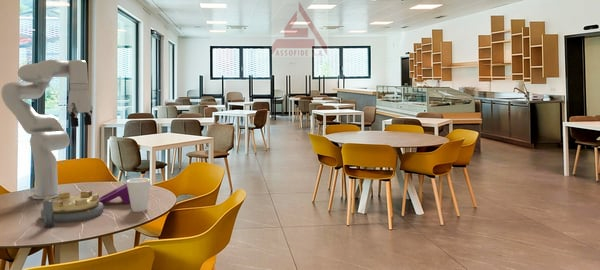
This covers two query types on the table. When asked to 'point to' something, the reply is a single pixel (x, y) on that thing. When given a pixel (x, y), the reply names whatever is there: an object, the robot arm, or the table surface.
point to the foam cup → (138, 193)
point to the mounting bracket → (116, 195)
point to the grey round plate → (76, 215)
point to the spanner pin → (48, 213)
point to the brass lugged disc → (74, 202)
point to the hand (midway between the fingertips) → (81, 125)
